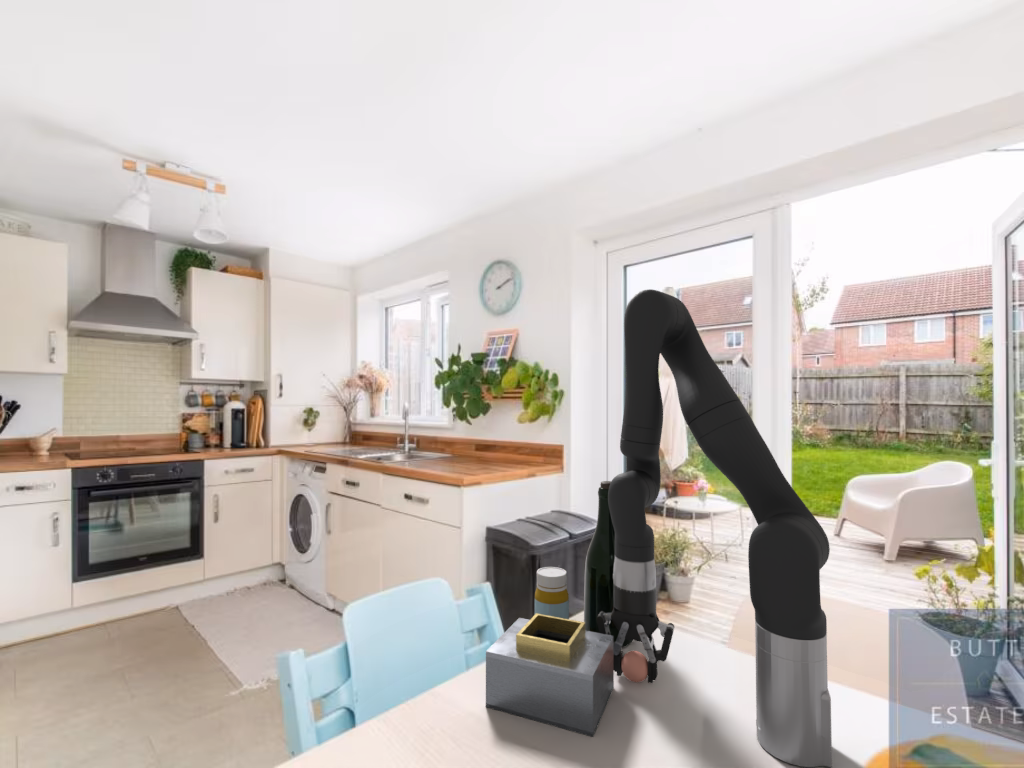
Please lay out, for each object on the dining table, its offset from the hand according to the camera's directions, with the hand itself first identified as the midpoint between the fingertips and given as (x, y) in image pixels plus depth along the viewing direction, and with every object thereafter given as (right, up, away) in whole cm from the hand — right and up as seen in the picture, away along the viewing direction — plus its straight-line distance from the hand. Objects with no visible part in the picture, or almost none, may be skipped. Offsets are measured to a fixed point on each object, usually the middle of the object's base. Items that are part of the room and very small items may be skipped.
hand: (635, 676), depth 90 cm
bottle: (-14, -1, +13) cm, 19 cm away
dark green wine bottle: (-2, -1, +16) cm, 16 cm away
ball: (0, +2, 0) cm, 2 cm away
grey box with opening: (-15, 0, -5) cm, 16 cm away
